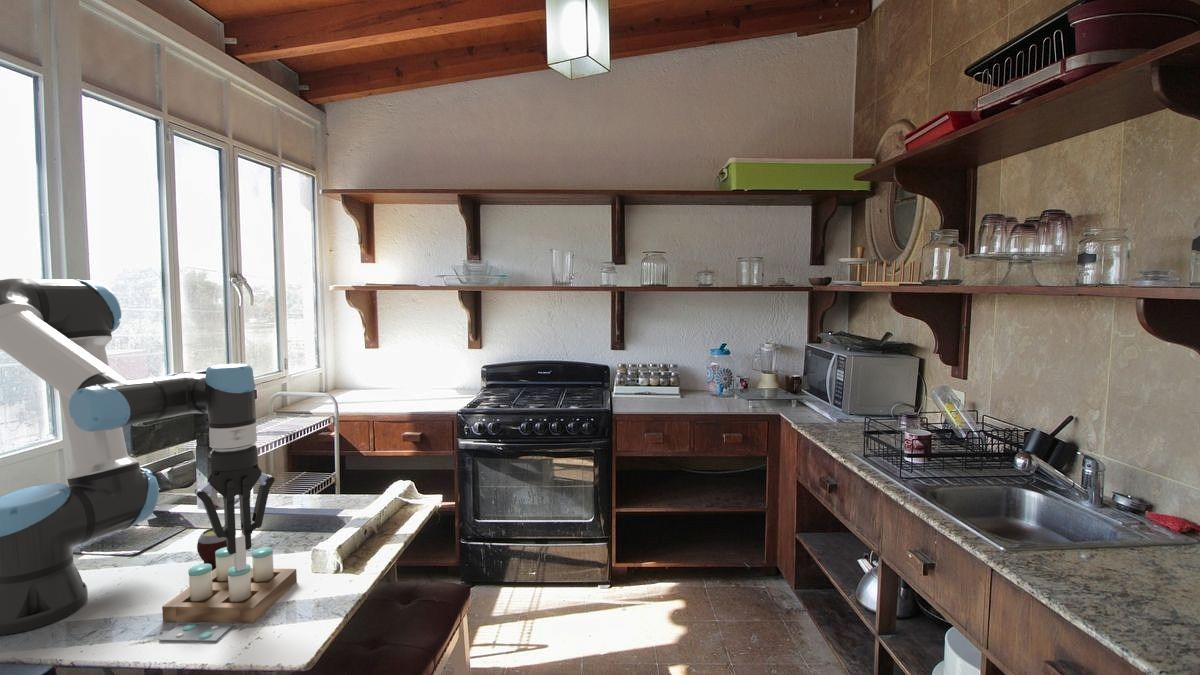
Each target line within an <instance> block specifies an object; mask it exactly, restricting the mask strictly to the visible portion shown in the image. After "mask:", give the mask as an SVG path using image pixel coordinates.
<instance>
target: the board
mask: <svg viewBox="0 0 1200 675" xmlns="http://www.w3.org/2000/svg"><path fill="white" fill-rule="evenodd" d="M273 573H274V576H273V577H272V578H271V579H269V580H266V581H262V582H256V581H254V580H253V567H252V568H251V570H250V574H251V596H250V597H249V598H247V599H245V600H242V601H238V602H232V601H230V600H229V582H228V581H217V576H216V568H215V569H214V570H213V571H212V585H213V595H212V596H211V597H209V598H207V599H205V600H201V601H191V600H190V586H189V587H187V588H186V589H184V590H183V591H182V592H180V593H179V594H178V595H176V596H174V598H172V599H171V600H170V601H168V602H166V603H165V604H164V605H162V606H161V610H162V613H161V614H162V623H199V624H254V623H256V622H257V621H258V620H259V619H260V618H261V617H262V616H263V615H264V614H265V613H266V612H267V611H268V610H270V608H272V606H274V605H275V604H276V603H277V602H278V601H279V600H280V599H282V597H283V596H284V595H285V594H287V592H289V591H290V590H291V589H292V588H293V587H294V586H295V585H296V584H297V583H298V581H297V580H298V578H297V575H298V574H297V568H273Z"/></svg>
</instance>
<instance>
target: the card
mask: <svg viewBox="0 0 1200 675" xmlns="http://www.w3.org/2000/svg"><path fill="white" fill-rule="evenodd" d="M234 627H235V623H194V622H179V623H178V624H177V625H176V626H175V627H174V628H172V629H171V630H169V631H168V632H167V633H166V634H164V636H162V637H161V638H159V640H158V642H159V643H203V644H204V643H213V644H214V643H215V644H216V643H217V642H219V640H221V639H222V638H223V637H224V636H225V635H226V634H228V632H230V630H232V628H234Z"/></svg>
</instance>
